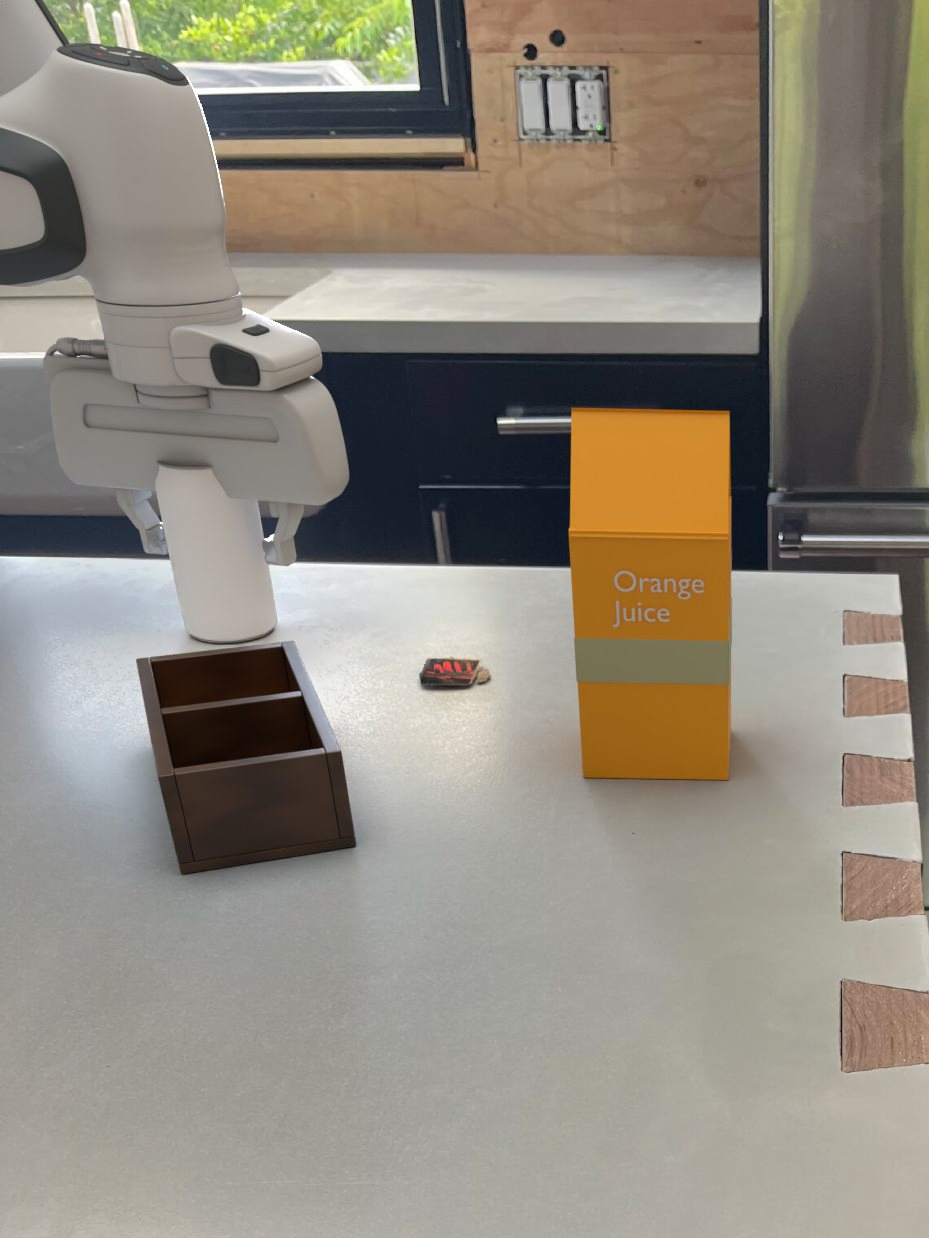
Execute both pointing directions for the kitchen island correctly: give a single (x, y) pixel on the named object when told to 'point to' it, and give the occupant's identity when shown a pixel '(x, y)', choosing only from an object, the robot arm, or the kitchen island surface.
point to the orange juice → (652, 591)
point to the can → (215, 557)
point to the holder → (244, 756)
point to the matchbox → (452, 671)
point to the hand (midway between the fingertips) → (220, 558)
